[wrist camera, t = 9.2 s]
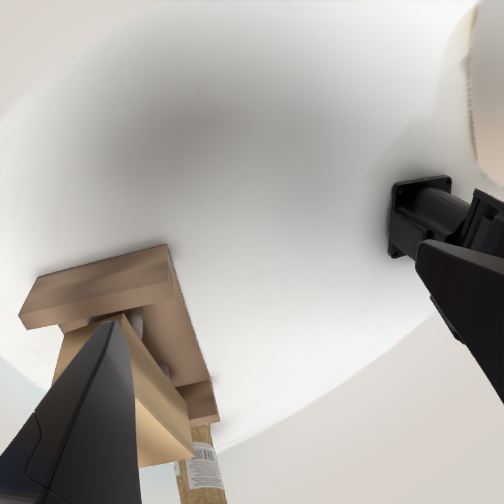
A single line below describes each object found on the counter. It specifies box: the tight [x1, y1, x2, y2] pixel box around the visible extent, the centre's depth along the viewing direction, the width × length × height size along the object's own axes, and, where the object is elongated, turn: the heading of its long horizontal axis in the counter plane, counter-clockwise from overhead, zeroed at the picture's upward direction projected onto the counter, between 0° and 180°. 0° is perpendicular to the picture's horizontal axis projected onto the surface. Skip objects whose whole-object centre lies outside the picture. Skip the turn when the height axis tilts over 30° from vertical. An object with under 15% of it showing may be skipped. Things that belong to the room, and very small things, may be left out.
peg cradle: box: [18, 245, 220, 427], centre depth 21 cm, size 10×14×4 cm
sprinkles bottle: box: [174, 424, 227, 504], centre depth 25 cm, size 5×5×14 cm
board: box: [51, 313, 195, 468], centre depth 18 cm, size 4×10×5 cm, turn 15°
